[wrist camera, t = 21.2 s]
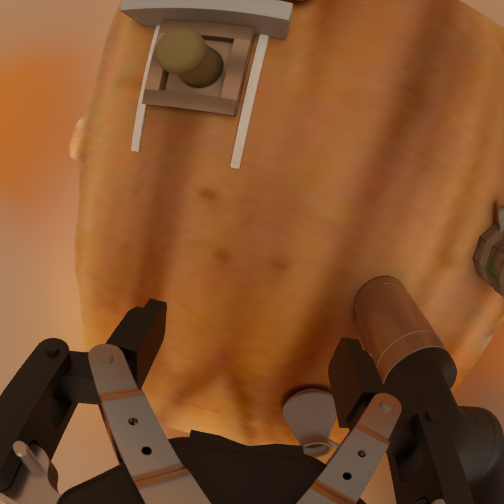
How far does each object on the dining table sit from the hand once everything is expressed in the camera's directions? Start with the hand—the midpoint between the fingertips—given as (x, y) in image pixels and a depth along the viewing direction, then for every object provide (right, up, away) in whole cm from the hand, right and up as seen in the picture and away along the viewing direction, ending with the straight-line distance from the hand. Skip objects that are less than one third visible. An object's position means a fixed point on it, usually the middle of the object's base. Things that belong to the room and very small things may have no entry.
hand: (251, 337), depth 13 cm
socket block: (-7, +28, +20) cm, 35 cm away
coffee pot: (+16, -28, +44) cm, 55 cm away
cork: (-7, +28, +20) cm, 35 cm away
